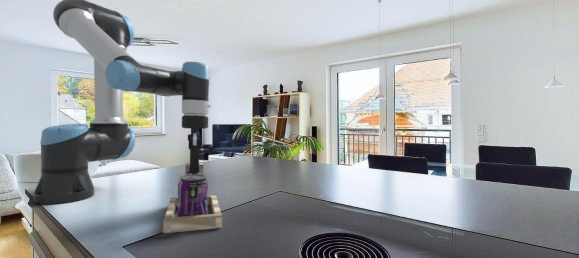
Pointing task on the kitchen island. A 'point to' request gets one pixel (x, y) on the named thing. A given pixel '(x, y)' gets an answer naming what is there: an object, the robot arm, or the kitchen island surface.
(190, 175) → the beverage can
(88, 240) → the kitchen island surface
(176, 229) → the can sled
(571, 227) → the kitchen island surface
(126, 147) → the robot arm
